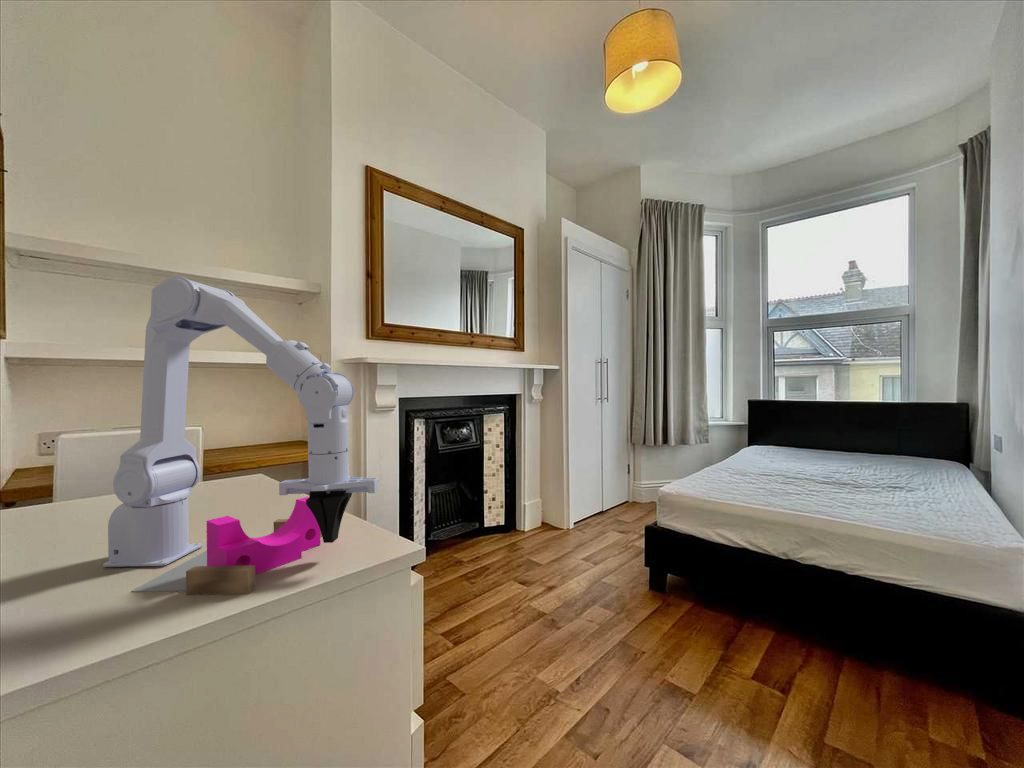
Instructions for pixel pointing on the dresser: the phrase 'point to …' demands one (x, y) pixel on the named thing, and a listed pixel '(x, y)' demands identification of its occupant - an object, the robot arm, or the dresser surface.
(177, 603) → the dresser surface
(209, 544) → the toy block
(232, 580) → the pair of brown pieces
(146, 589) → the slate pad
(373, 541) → the dresser surface
